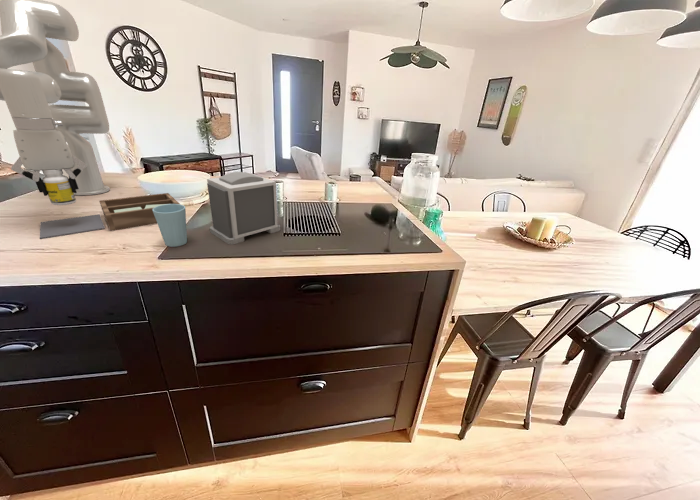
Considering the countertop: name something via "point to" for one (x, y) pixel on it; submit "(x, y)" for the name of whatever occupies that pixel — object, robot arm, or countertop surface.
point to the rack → (135, 216)
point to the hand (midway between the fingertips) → (60, 192)
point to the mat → (70, 226)
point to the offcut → (127, 209)
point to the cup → (172, 223)
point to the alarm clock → (242, 206)
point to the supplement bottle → (58, 187)
